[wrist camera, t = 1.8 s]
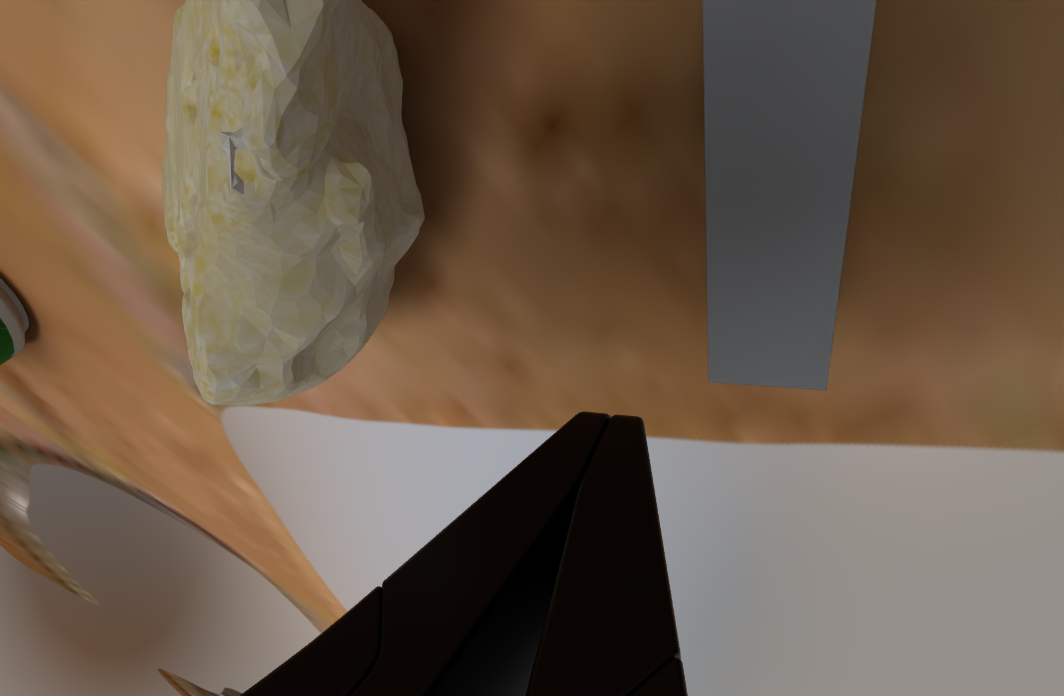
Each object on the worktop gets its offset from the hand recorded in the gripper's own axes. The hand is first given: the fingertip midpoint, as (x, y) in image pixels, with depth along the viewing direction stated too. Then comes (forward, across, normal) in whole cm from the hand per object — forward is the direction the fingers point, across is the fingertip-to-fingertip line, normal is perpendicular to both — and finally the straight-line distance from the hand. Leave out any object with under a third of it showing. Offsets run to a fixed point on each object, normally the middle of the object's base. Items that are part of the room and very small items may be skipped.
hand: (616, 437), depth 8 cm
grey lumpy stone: (+12, +12, -3) cm, 17 cm away
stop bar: (+12, -2, 0) cm, 12 cm away
